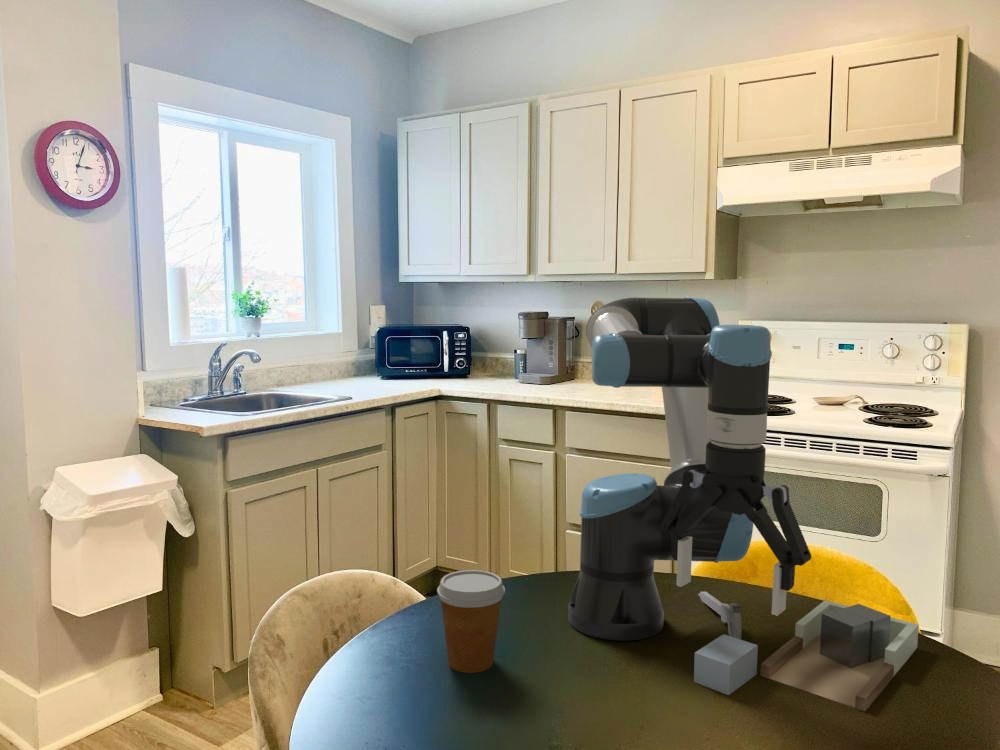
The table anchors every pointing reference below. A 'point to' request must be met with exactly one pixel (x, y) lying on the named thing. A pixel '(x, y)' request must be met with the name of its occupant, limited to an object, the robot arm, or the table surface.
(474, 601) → the disposable coffee cup
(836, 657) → the grey squarish block
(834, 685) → the slot board
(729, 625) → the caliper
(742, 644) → the grey block
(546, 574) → the table surface
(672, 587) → the table surface
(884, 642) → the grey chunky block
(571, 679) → the table surface
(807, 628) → the tray
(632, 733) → the table surface
